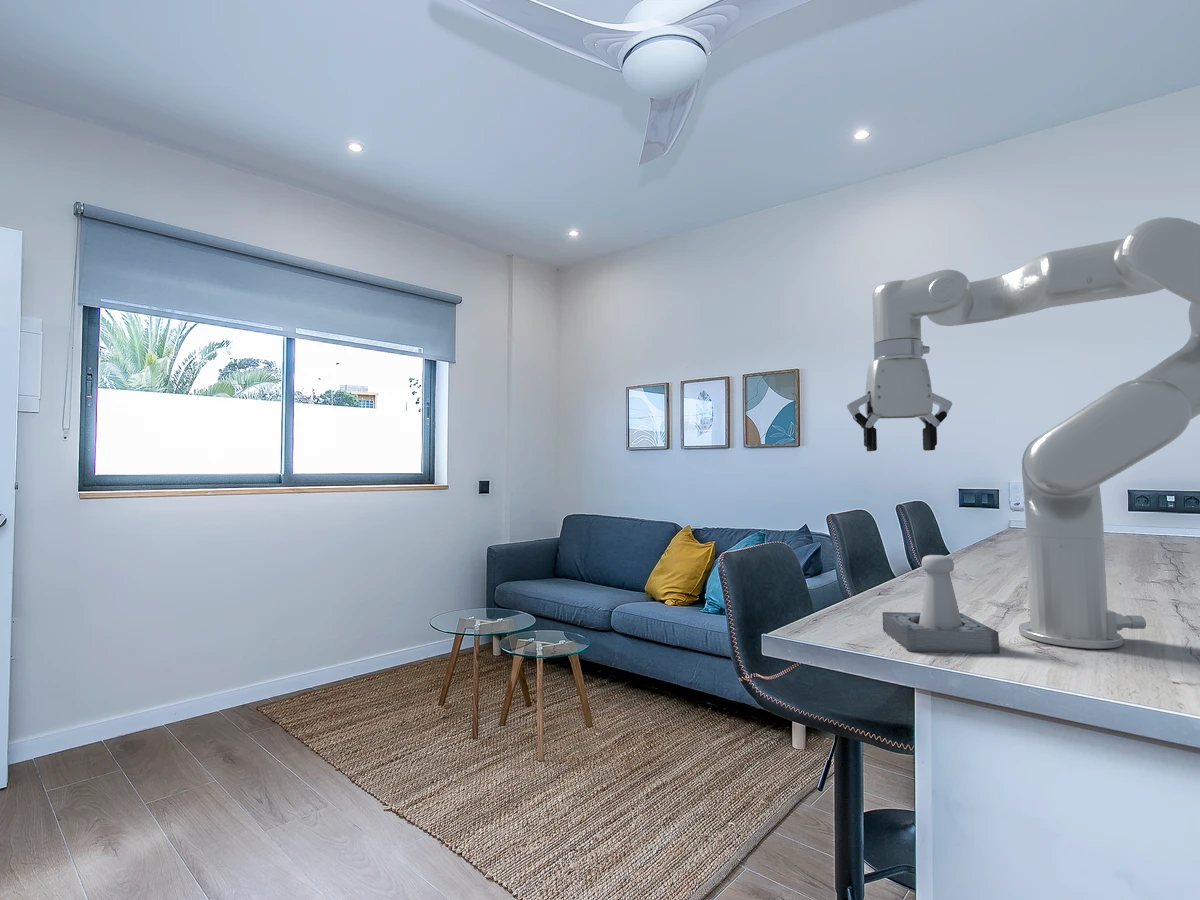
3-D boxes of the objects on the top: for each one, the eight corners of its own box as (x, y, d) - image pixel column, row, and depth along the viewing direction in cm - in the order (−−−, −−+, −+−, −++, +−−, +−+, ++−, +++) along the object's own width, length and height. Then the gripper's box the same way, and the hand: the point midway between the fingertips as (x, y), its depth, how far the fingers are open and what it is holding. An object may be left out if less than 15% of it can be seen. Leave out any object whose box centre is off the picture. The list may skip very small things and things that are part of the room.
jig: (961, 631, 98) (961, 613, 98) (999, 653, 86) (998, 632, 87) (883, 630, 100) (882, 612, 100) (909, 651, 88) (908, 630, 88)
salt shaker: (952, 636, 96) (949, 553, 96) (970, 646, 90) (966, 558, 90) (913, 636, 96) (910, 553, 97) (928, 646, 91) (925, 558, 91)
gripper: (939, 356, 110) (942, 450, 110) (840, 358, 112) (842, 452, 111) (959, 347, 103) (963, 449, 102) (853, 350, 104) (856, 450, 104)
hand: (900, 450), depth 107 cm, fingers open, 9 cm apart
